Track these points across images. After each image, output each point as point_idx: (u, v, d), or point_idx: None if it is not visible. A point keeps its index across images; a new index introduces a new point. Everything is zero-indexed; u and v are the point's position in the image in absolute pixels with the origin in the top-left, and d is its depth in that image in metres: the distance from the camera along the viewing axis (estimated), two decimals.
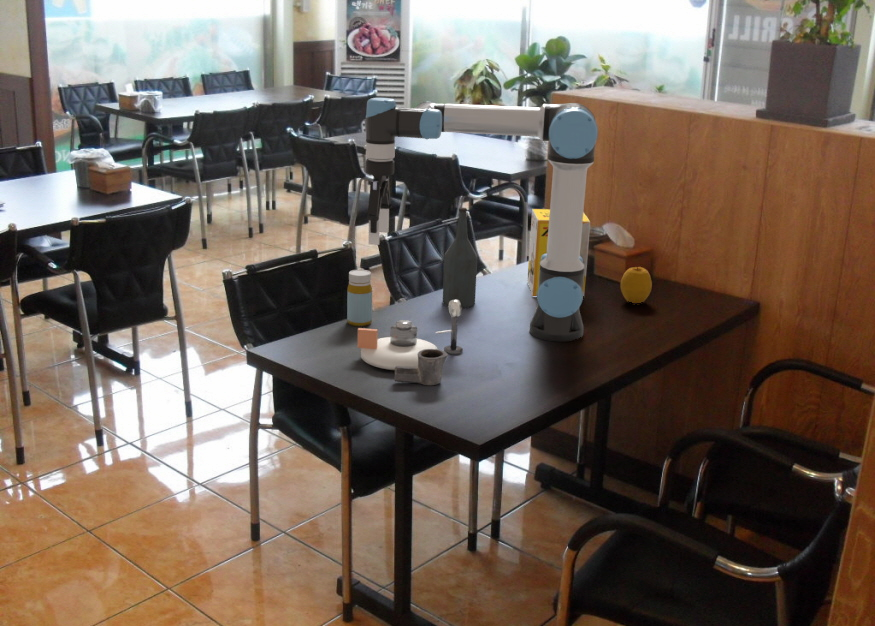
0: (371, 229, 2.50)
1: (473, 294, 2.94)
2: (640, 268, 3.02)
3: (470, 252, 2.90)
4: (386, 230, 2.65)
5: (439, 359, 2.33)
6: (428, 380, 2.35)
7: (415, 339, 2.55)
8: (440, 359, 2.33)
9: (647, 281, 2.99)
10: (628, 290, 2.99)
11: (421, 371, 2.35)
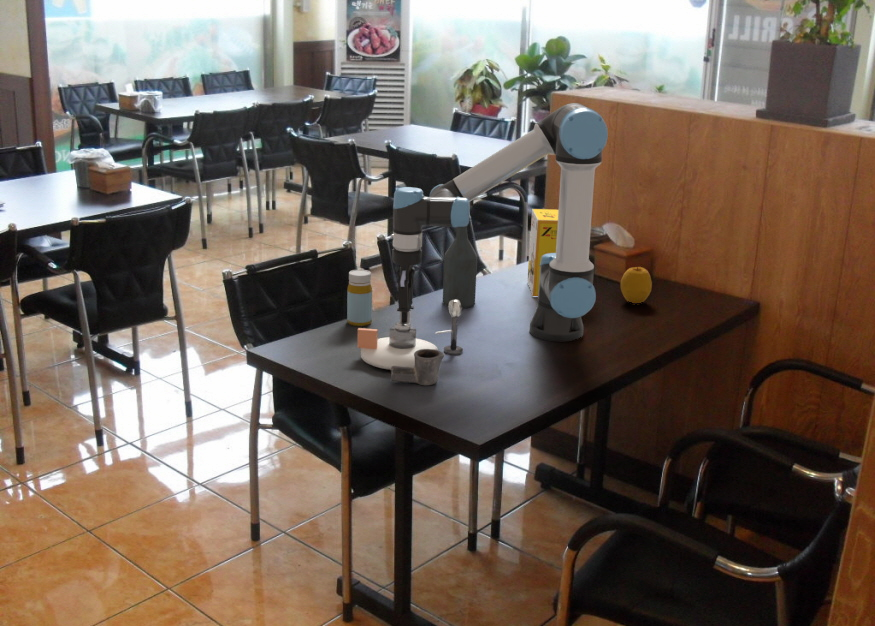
0: (402, 320, 2.55)
1: (473, 294, 2.94)
2: (640, 268, 3.02)
3: (470, 252, 2.90)
4: None
5: (435, 359, 2.33)
6: (425, 380, 2.35)
7: (414, 341, 2.53)
8: (436, 359, 2.33)
9: (647, 281, 2.99)
10: (628, 290, 2.99)
11: (417, 371, 2.35)
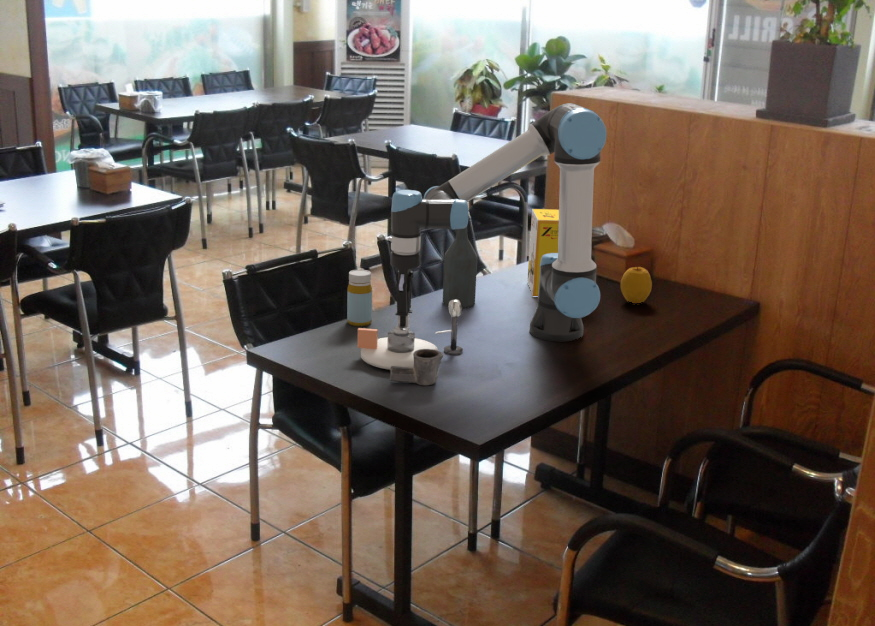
0: (400, 324, 2.53)
1: (473, 294, 2.94)
2: (640, 268, 3.02)
3: (470, 252, 2.90)
4: None
5: (435, 359, 2.33)
6: (424, 380, 2.35)
7: (412, 345, 2.50)
8: (436, 359, 2.33)
9: (647, 281, 2.99)
10: (628, 290, 2.99)
11: (416, 371, 2.35)
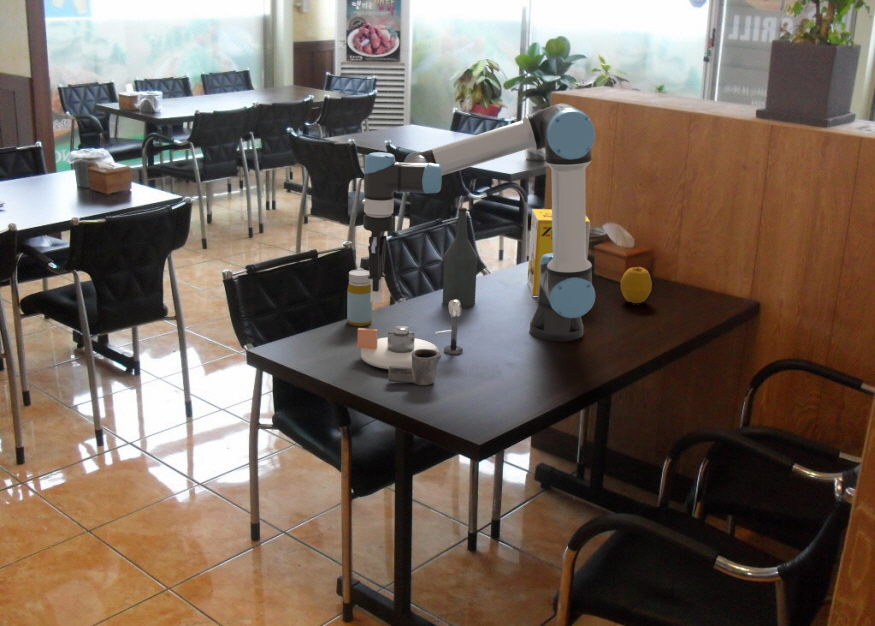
0: (373, 288, 2.52)
1: (473, 294, 2.94)
2: (640, 268, 3.02)
3: (470, 252, 2.90)
4: None
5: (433, 359, 2.33)
6: (422, 380, 2.35)
7: (412, 345, 2.50)
8: (434, 359, 2.33)
9: (647, 281, 2.99)
10: (628, 290, 2.99)
11: (415, 371, 2.35)
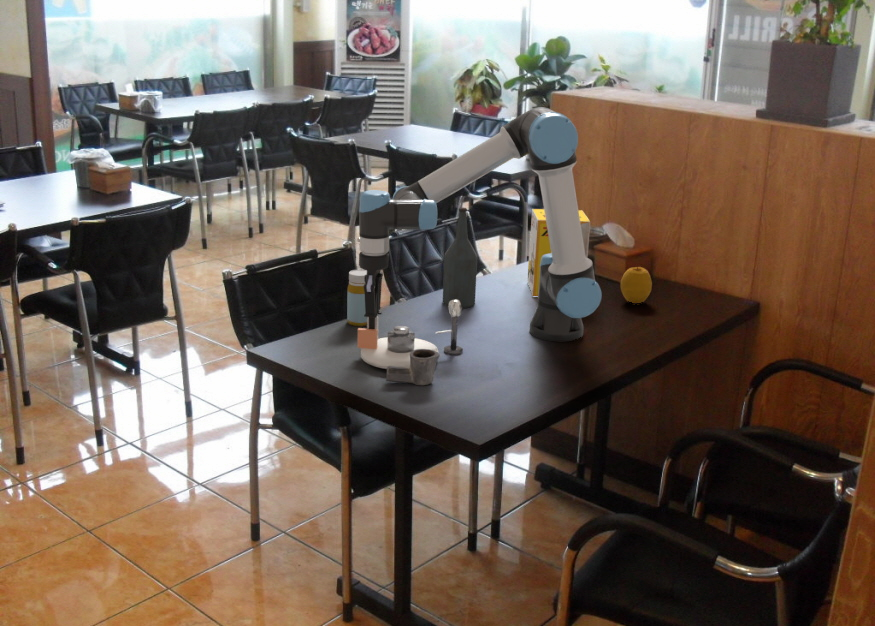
0: (369, 326, 2.50)
1: (473, 294, 2.94)
2: (640, 268, 3.02)
3: (470, 252, 2.90)
4: None
5: (431, 359, 2.33)
6: (420, 380, 2.35)
7: (412, 345, 2.50)
8: (432, 359, 2.33)
9: (647, 281, 2.99)
10: (628, 290, 2.99)
11: (413, 371, 2.35)
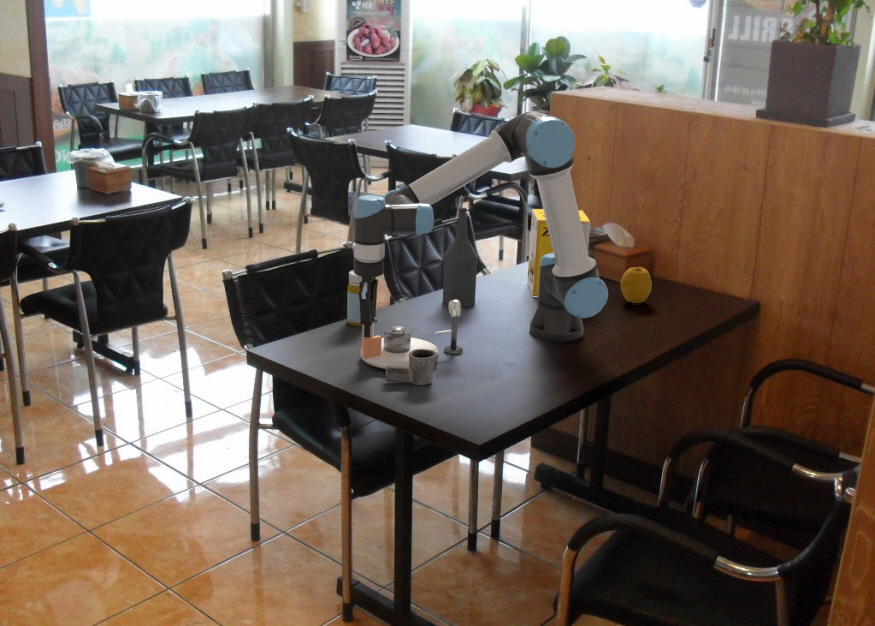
0: (365, 333, 2.45)
1: (473, 294, 2.94)
2: (640, 268, 3.02)
3: (470, 252, 2.90)
4: None
5: (430, 359, 2.33)
6: (419, 380, 2.35)
7: None
8: (431, 359, 2.33)
9: (647, 281, 2.99)
10: (628, 290, 2.99)
11: (412, 371, 2.35)
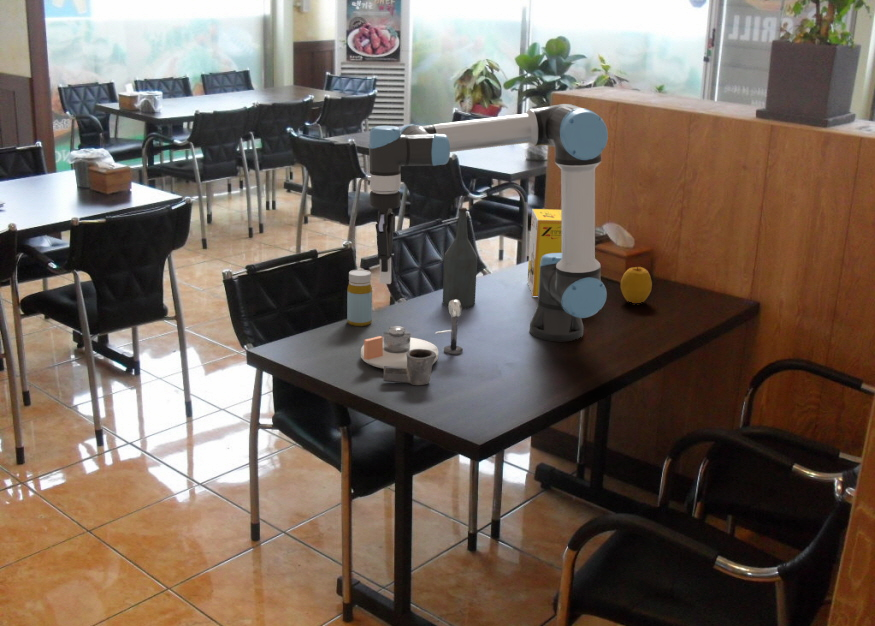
0: (382, 268, 2.42)
1: (473, 294, 2.94)
2: (640, 268, 3.02)
3: (470, 252, 2.90)
4: None
5: (428, 359, 2.33)
6: (417, 380, 2.35)
7: None
8: (429, 359, 2.33)
9: (647, 281, 2.99)
10: (628, 290, 2.99)
11: (410, 371, 2.35)
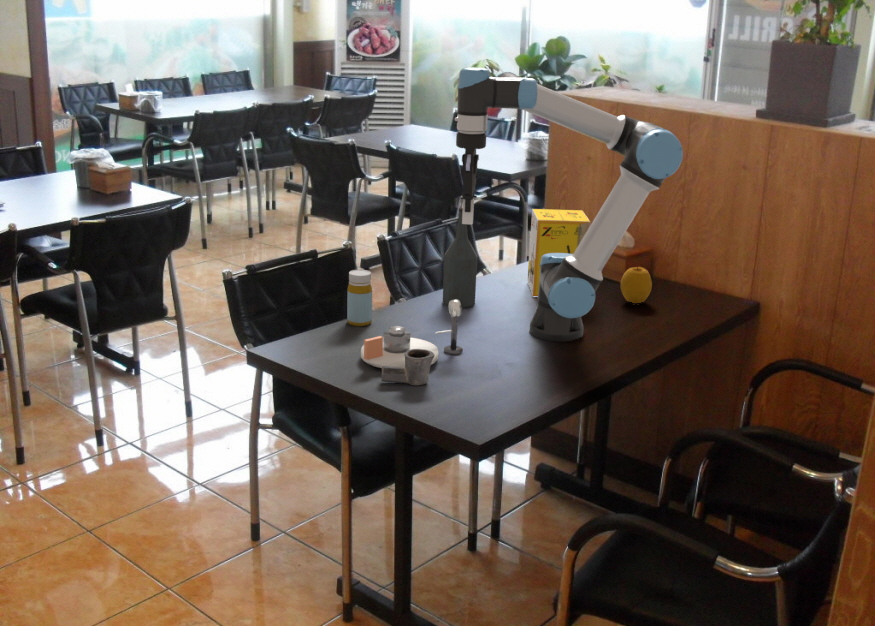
0: (465, 208, 2.47)
1: (473, 294, 2.94)
2: (640, 268, 3.02)
3: (470, 252, 2.90)
4: None
5: (426, 359, 2.33)
6: (415, 380, 2.35)
7: None
8: (427, 359, 2.33)
9: (647, 281, 2.99)
10: (628, 290, 2.99)
11: (408, 371, 2.35)
